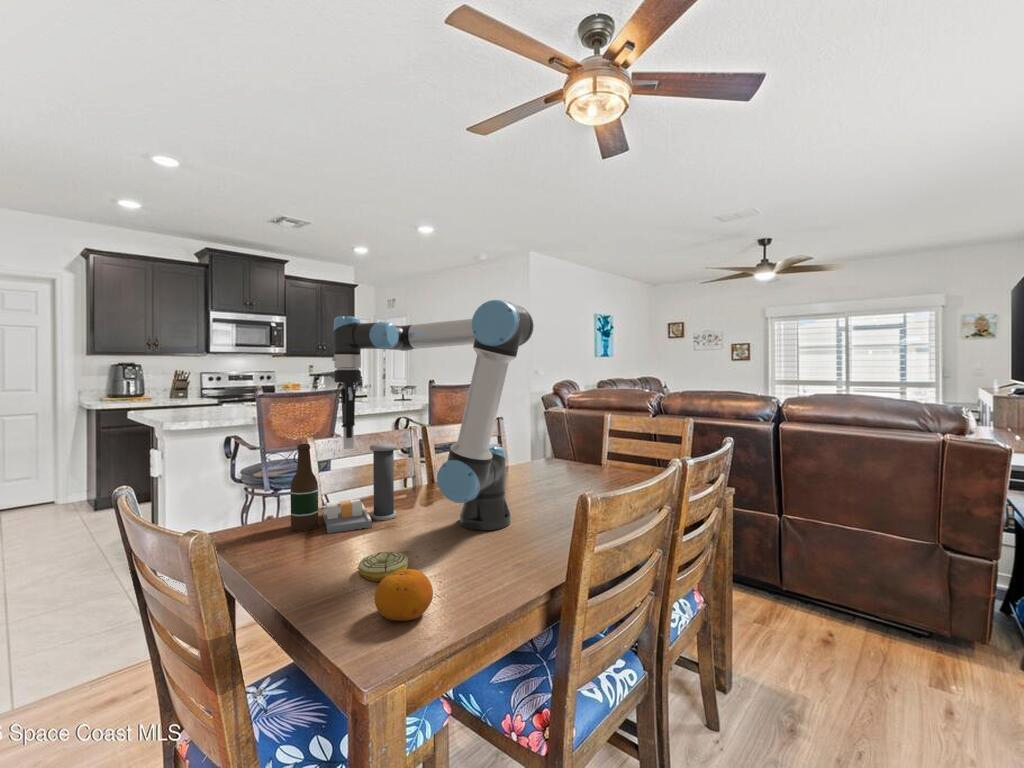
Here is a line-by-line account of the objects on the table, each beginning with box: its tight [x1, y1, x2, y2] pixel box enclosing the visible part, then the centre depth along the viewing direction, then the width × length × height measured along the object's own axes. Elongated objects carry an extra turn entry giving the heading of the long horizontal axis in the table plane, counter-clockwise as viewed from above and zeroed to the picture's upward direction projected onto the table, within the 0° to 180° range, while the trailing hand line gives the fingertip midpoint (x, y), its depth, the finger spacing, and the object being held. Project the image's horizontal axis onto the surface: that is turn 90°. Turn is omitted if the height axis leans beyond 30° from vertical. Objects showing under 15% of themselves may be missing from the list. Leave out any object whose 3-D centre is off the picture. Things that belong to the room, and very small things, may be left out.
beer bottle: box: [290, 443, 319, 532], centre depth 138 cm, size 8×8×24 cm
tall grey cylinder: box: [369, 443, 398, 522], centre depth 149 cm, size 8×8×22 cm
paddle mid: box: [339, 499, 352, 518], centre depth 144 cm, size 5×3×4 cm, turn 25°
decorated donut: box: [357, 551, 409, 582], centre depth 109 cm, size 10×11×4 cm
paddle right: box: [350, 498, 363, 516], centre depth 145 cm, size 5×3×4 cm, turn 25°
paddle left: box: [325, 501, 339, 519], centre depth 142 cm, size 5×3×4 cm, turn 25°
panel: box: [322, 502, 373, 534], centre depth 144 cm, size 18×12×3 cm, turn 25°
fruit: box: [374, 568, 434, 622], centre depth 90 cm, size 10×10×8 cm
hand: (348, 448), depth 144 cm, fingers closed
